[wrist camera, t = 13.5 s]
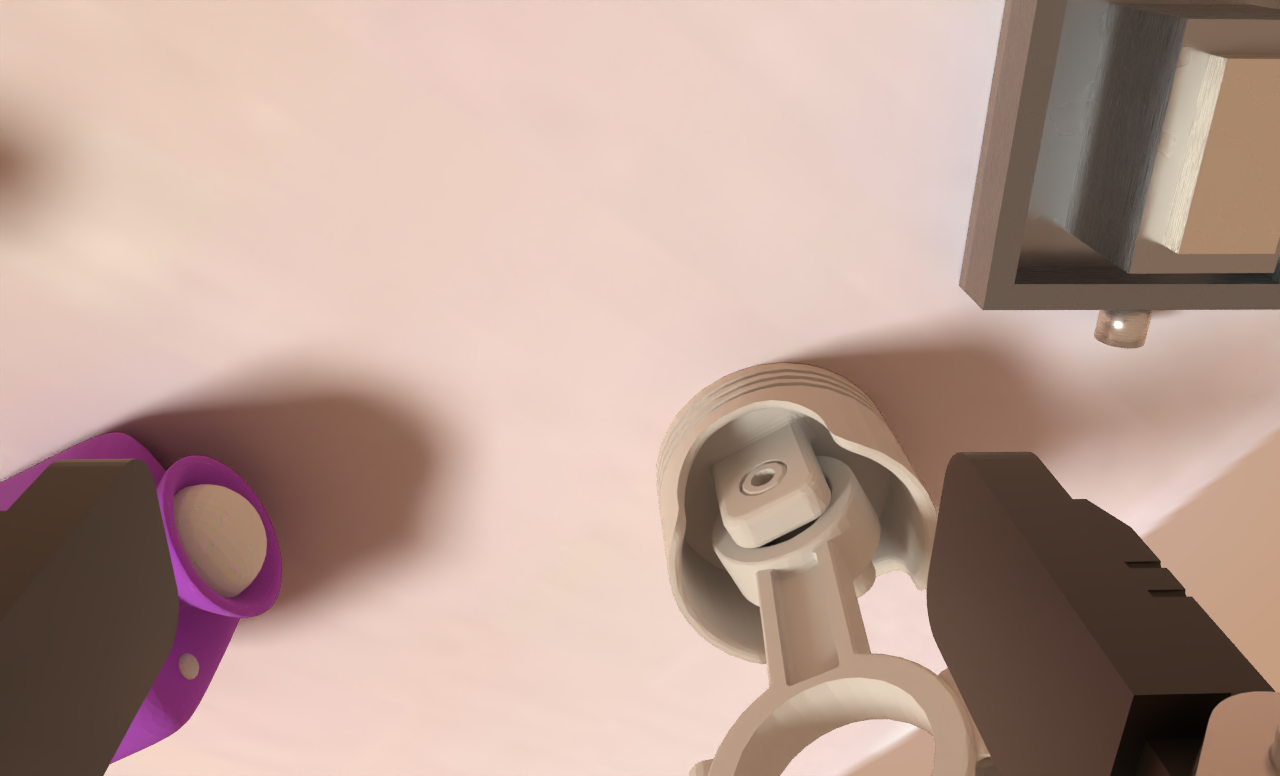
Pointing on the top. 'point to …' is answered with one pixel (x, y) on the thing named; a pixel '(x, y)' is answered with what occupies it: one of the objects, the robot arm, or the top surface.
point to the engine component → (802, 561)
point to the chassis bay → (1066, 187)
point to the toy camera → (191, 571)
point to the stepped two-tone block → (1183, 141)
